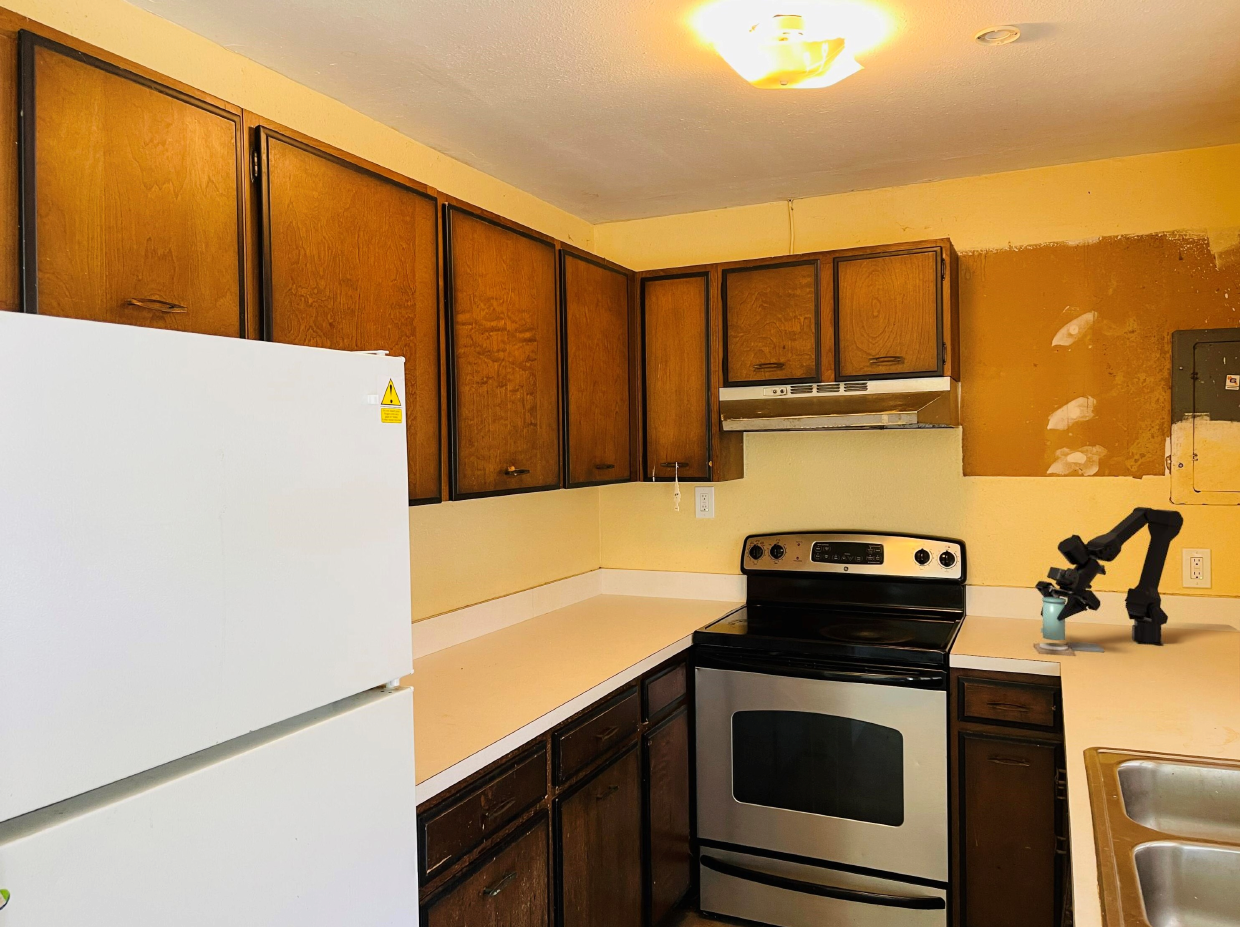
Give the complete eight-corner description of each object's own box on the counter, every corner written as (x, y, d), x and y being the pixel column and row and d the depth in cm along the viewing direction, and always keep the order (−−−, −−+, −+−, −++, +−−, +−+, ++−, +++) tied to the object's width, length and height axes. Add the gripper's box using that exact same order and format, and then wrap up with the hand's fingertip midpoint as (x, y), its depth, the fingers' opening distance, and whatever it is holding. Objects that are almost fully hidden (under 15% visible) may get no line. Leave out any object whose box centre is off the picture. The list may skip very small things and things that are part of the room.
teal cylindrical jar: (1063, 636, 250) (1063, 597, 250) (1067, 641, 245) (1068, 601, 244) (1039, 635, 252) (1039, 596, 252) (1042, 639, 246) (1043, 600, 246)
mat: (1097, 645, 254) (1097, 643, 254) (1103, 652, 247) (1103, 650, 247) (1066, 644, 257) (1066, 641, 257) (1072, 650, 249) (1072, 648, 249)
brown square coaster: (1068, 648, 251) (1068, 642, 251) (1074, 655, 243) (1074, 650, 243) (1033, 646, 254) (1033, 641, 254) (1038, 653, 245) (1038, 648, 245)
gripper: (1040, 552, 258) (1008, 593, 255) (1092, 561, 240) (1059, 604, 237) (1062, 578, 260) (1031, 618, 257) (1115, 588, 243) (1082, 631, 240)
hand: (1049, 617), depth 248 cm, fingers closed on teal cylindrical jar, 6 cm apart
